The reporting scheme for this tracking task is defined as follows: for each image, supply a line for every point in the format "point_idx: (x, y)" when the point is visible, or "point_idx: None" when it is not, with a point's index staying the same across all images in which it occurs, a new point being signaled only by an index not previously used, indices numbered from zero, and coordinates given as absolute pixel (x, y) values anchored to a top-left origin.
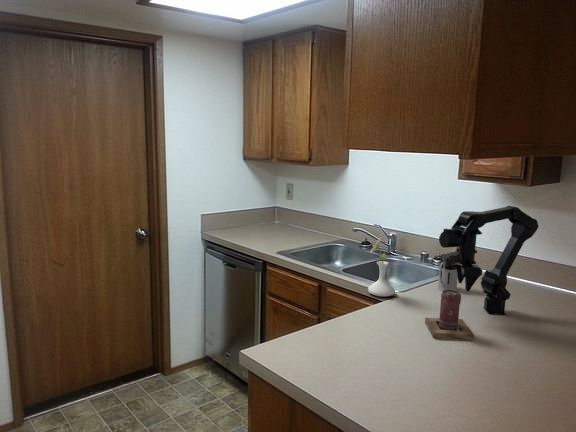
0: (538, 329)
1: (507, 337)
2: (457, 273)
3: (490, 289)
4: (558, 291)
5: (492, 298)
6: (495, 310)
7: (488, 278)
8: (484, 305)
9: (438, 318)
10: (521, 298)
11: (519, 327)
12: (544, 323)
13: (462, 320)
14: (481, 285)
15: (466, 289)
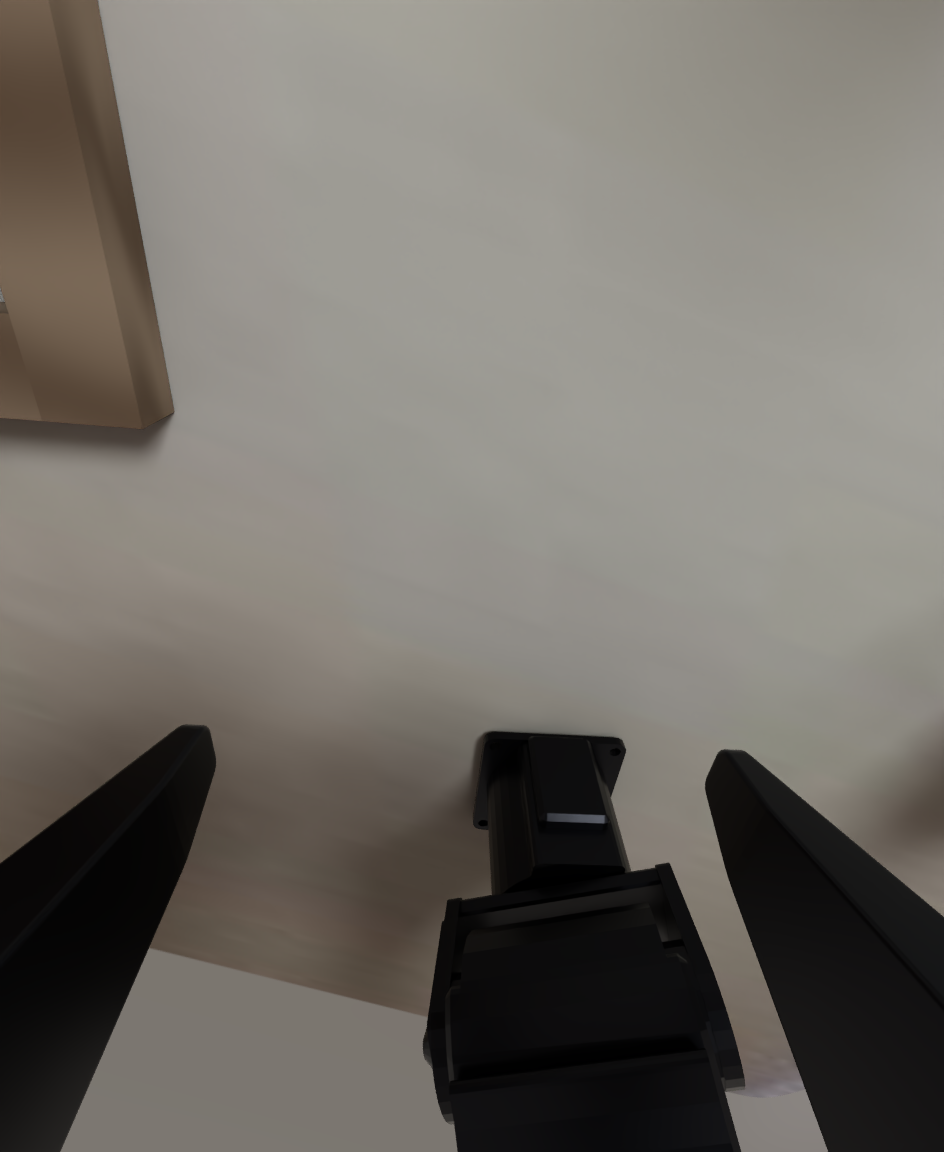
0: (241, 879)
1: (3, 687)
2: (908, 961)
3: (482, 974)
4: (798, 1080)
5: (520, 872)
6: (492, 792)
7: (595, 1141)
8: (579, 760)
9: (38, 22)
10: (754, 959)
11: (246, 811)
12: (349, 926)
13: (98, 415)
14: (657, 944)
15: (154, 750)
